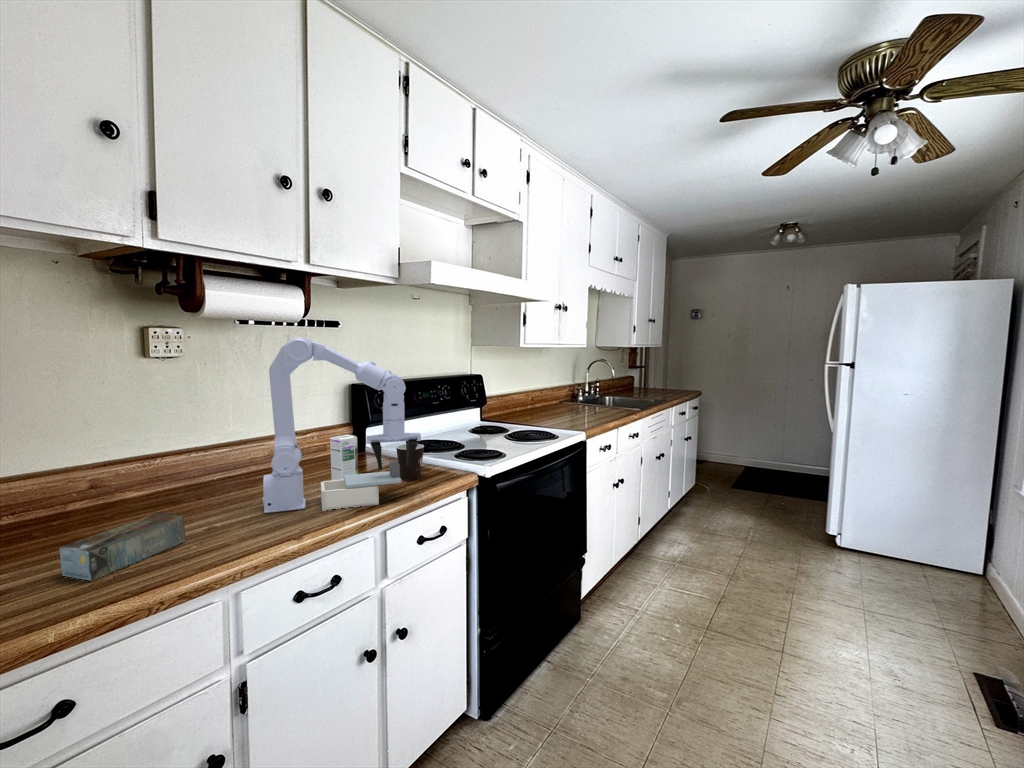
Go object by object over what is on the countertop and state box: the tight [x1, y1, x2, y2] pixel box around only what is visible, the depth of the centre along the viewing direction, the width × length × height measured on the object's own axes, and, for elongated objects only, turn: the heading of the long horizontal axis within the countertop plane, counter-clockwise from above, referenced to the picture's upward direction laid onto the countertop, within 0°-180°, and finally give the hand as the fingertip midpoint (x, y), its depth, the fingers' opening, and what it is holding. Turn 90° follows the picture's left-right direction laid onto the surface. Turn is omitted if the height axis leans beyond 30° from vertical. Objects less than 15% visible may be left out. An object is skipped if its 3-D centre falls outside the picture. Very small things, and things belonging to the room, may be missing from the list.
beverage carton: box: [58, 511, 187, 582], centre depth 97 cm, size 8×19×7 cm, turn 164°
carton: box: [320, 479, 380, 512], centre depth 131 cm, size 14×10×5 cm
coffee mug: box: [395, 443, 425, 481], centre depth 157 cm, size 12×9×10 cm
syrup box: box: [329, 434, 359, 481], centre depth 148 cm, size 6×6×14 cm
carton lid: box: [344, 460, 402, 488], centre depth 133 cm, size 14×10×4 cm
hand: (394, 467), depth 135 cm, fingers open, 7 cm apart
